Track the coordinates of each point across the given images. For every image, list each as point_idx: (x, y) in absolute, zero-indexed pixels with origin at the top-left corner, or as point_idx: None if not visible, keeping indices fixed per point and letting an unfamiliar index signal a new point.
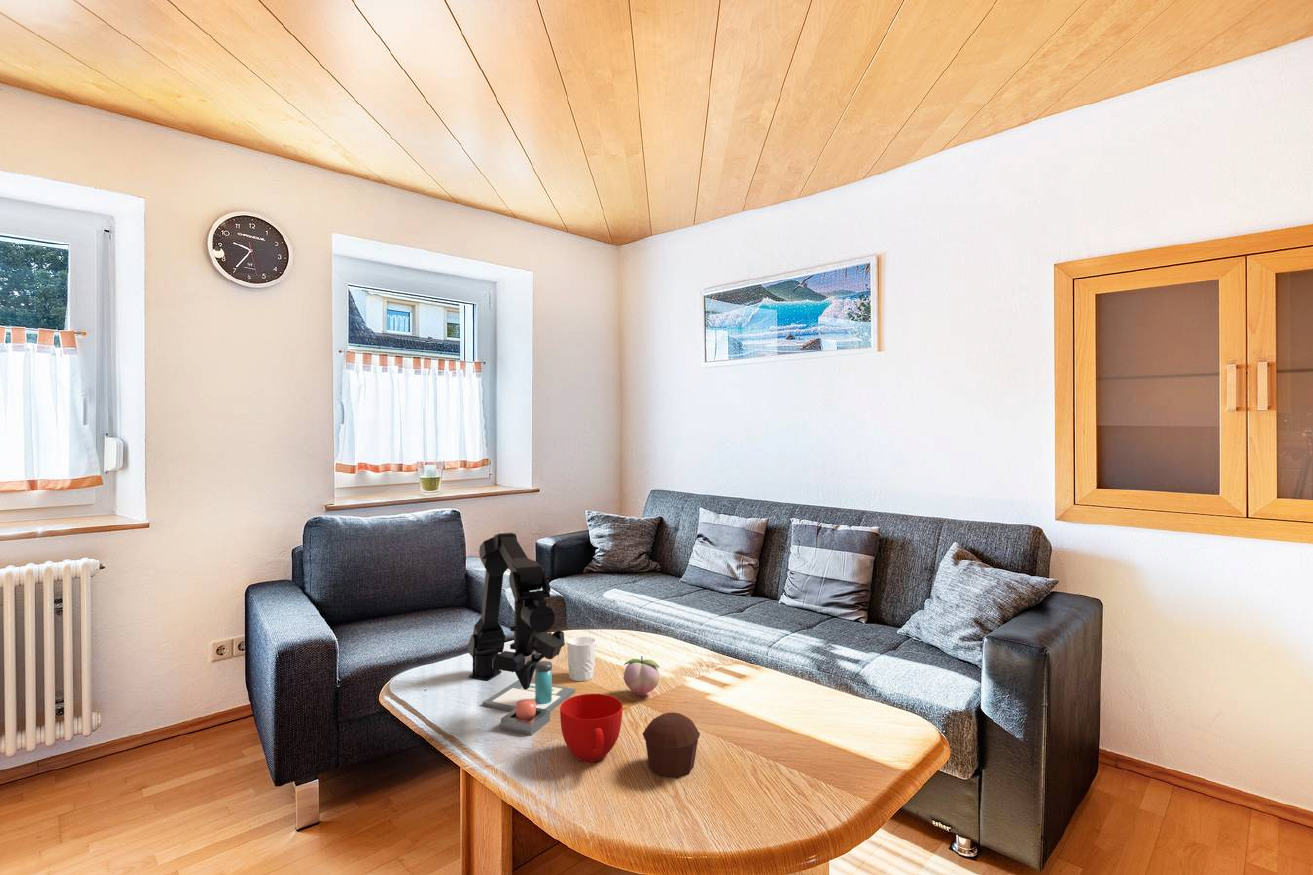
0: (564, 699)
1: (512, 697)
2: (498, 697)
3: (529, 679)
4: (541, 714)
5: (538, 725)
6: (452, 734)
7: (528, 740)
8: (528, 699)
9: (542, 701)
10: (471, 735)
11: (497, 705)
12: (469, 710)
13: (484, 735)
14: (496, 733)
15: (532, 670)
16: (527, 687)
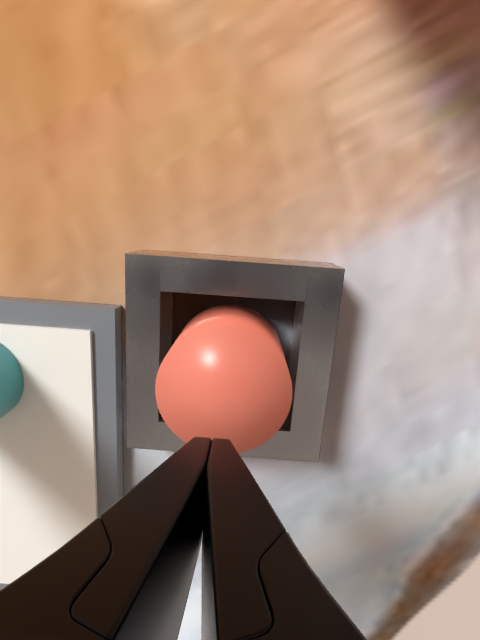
0: None
1: (20, 530)
2: None
3: (210, 487)
4: (198, 277)
5: (263, 259)
6: (405, 578)
7: (384, 251)
8: (165, 403)
9: (9, 367)
10: (396, 511)
11: None
12: (185, 623)
13: (383, 464)
14: (352, 427)
15: (137, 569)
16: (232, 445)
